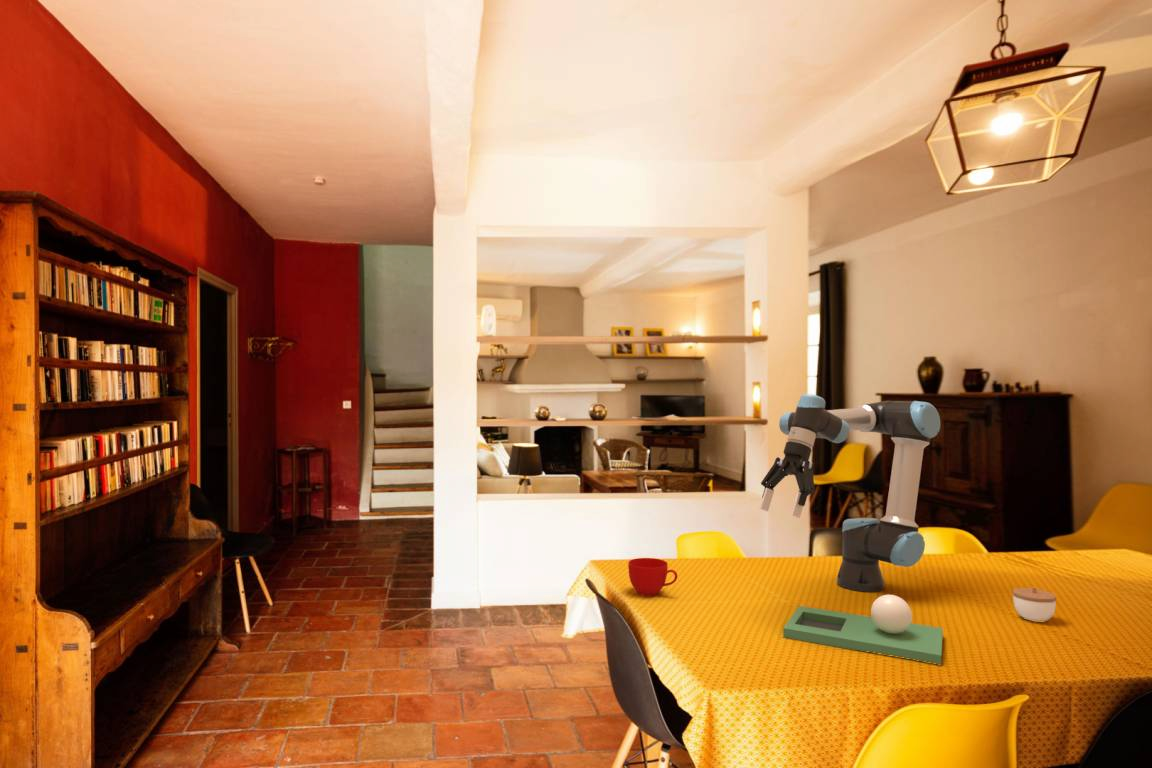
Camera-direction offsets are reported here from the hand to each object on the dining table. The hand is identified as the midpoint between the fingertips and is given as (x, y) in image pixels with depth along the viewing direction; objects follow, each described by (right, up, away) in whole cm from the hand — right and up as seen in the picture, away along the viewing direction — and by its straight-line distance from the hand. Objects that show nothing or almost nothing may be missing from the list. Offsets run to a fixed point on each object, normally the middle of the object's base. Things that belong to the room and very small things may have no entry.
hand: (779, 513), depth 199 cm
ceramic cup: (-34, -32, +26) cm, 53 cm away
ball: (+25, -24, -16) cm, 39 cm away
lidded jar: (+76, -32, +3) cm, 83 cm away
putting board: (+19, -32, -13) cm, 39 cm away
